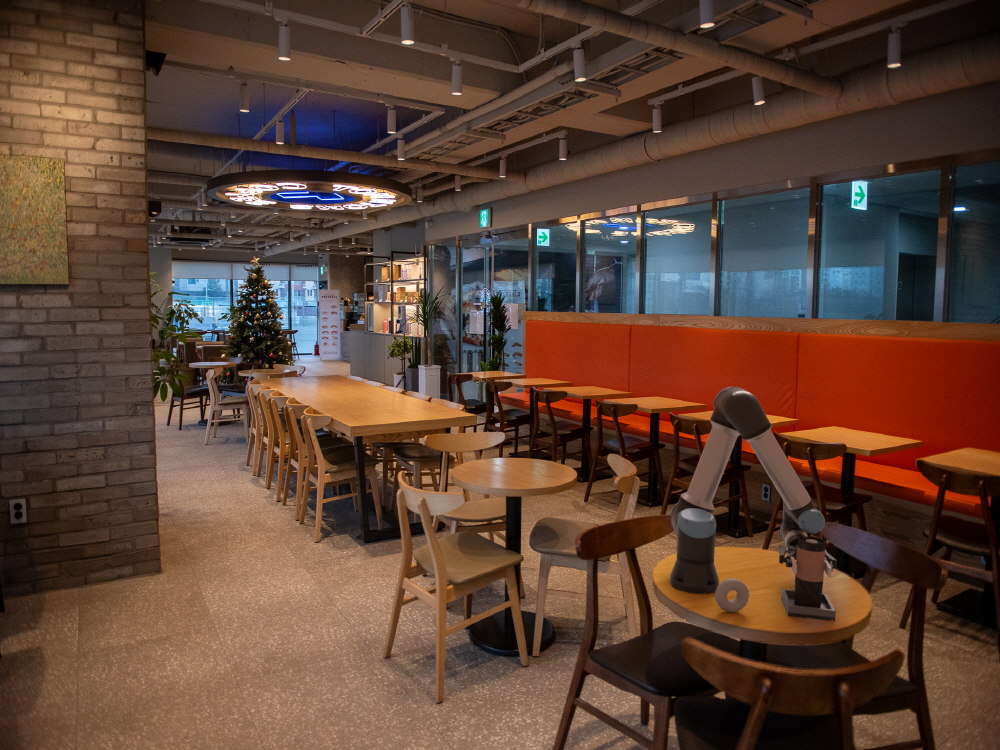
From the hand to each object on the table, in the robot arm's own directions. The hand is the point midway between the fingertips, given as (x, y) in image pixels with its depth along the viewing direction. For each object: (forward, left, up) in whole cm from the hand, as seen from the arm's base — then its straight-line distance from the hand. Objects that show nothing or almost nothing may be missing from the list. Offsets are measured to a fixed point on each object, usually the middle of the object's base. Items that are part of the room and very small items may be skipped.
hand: (812, 570), depth 198 cm
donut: (-22, -3, -14) cm, 26 cm away
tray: (0, +5, -13) cm, 14 cm away
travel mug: (0, +5, -13) cm, 13 cm away
